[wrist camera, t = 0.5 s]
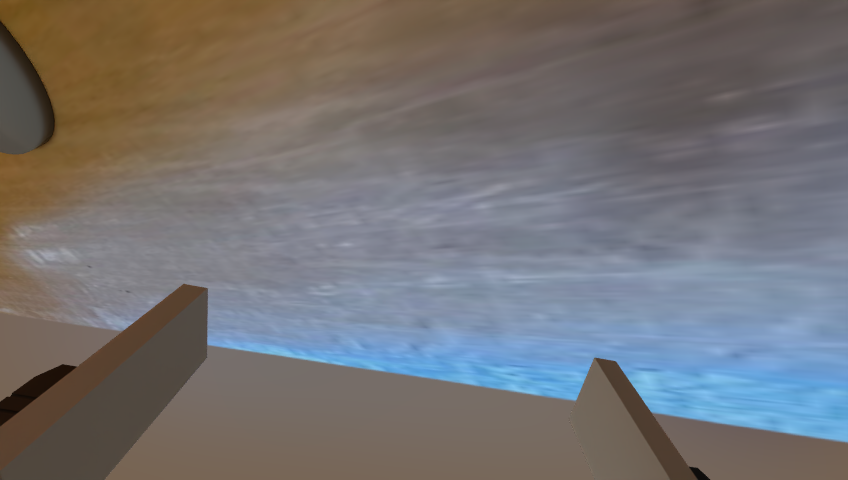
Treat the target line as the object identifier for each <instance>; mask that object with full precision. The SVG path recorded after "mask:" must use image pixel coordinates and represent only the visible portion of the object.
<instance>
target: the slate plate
mask: <svg viewBox="0 0 848 480" xmlns="http://www.w3.org/2000/svg"><path fill="white" fill-rule="evenodd" d="M53 130H54V117H53V111H52V107H51V104H50V100H49V98H48V95H47V93H46V90H45V88H44V86H43V84H42V82H41V80H40V78H39V76H38V74H37V73H36V71H35V69H34V68H33V66H32V64H31V63H30V61H29V59H28V58H27V56H26V55H25V53H24V52H23V51H22V49H21V48H20V46H19V45H18V43H17V42H16V41H15V39H14V38H13V37H12V36H11V34H10V33H9V32H8V30H7V29H6V28H5V27H4V25H3V24H2V23H1V22H0V152H3V153H7V154H23V153H26V152H29V151H31V150H33V149H35V148H37V147H39V146H41V145H43V144H45V143H46V142H48V141H49V139H50V138H51V136H52V134H53Z"/></svg>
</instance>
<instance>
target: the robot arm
mask: <svg viewBox="0 0 848 480" xmlns="http://www.w3.org/2000/svg"><path fill="white" fill-rule="evenodd" d="M207 314H208V288H204V287H198V286H192V285H187V284H183V285H182V286H181V287H179V288H178V289H177V290H175V291H174V292H173V293H172V294H170V295H169V296H168V297H166V298H165V299H164V300H163V301H161V302H160V303H159V304H157V305H156V306H155V307H154V308H152V309H151V310H150V311H148V312H147V313H146V314H145V315H143V316H142V317H141V318H139V319H138V320H137V321H136V322H134V323H133V324H132V325H130V326H129V327H128V328H127V329H125V330H124V331H123V332H121V333H120V334H119V335H118V336H116V337H115V338H114V339H112V340H111V341H110V342H109V343H107V344H106V345H105V346H103V347H102V348H101V349H100V350H98V351H97V352H96V353H94V354H93V355H92V356H91V357H89V358H88V359H87V360H85V361H84V362H83V363H82V364H80V365H79V366H78V367H76V366H70V365H64V364H62V365H60V366H58V367H56V368H54V369H51V370H49V371H47V372H45V373H42V374H40V375H38V376H36V377H34V378H33V379H31V380H30V381H28V382H27V383H26V384H24V385H23V386H21V387H20V388H19V389H17V390H16V391H14V392H13V393H12V395H11V396H10V397H6V398H5V399H3V400H2V401H1V402H0V480H105V478H106V477H107V476H108V475H109V474H110V472H111V471H112V470H113V469H114V468H115V467H116V465H117V464H118V463H119V462H120V461H121V459H122V458H123V457H124V456H125V454H126V453H127V452H128V451H129V450H130V449H131V448H132V446H133V445H134V444H135V443H136V442H137V440H138V439H139V438H140V437H141V436H142V434H143V433H144V432H145V431H146V430H147V428H148V427H149V426H150V425H151V424H152V423H153V421H154V420H155V419H156V418H157V417H158V415H159V414H160V413H161V412H162V411H163V409H164V408H165V407H166V406H167V405H168V403H169V402H170V401H171V400H172V399H173V398H174V396H175V395H176V394H177V393H178V392H179V390H180V389H181V388H182V387H183V386H184V384H185V383H186V382H187V381H188V379H189V378H190V377H191V376H192V375H193V374H194V373H195V371H196V370H197V369H198V368H199V367H200V365H201V364H202V363H203V362H204V361H205V359H206V358H207ZM569 421H570V423H571V425H572V428H573V430H574V433H575V435H576V437H577V440H578V442H579V444H580V447H581V449H582V451H583V454H584V456H585V458H586V460H587V463H588V465H589V468H590V470H591V472H592V474H593V477H594V479H595V480H710V479H709V478H708V477H707V476H706V475H705V474H704V473H703V472H701V471H700V470H699V469H698V468H694V467H689V466H688V465H687V464H686V462H685V461H684V459H683V458H682V456H681V455H680V453H679V452H678V451H677V449H676V448H675V446H674V445H673V443H672V442H671V440H670V439H669V438H668V436H667V435H666V433H665V432H664V430H663V429H662V427H661V426H660V425H659V423H658V422H657V421H656V419H655V417H654V416H653V414H652V413H651V412H650V410H649V409H648V407H647V406H646V404H645V403H644V401H643V400H642V399H641V397H640V396H639V394H638V393H637V391H636V390H635V388H634V387H633V386H632V384H631V383H630V381H629V380H628V378H627V377H626V375H625V374H624V373H623V371H622V370H621V368H620V367H619V365H618V364H617V362H616V361H611V360H605V359H600V358H594V360H593V362H592V365H591V367H590V369H589V372H588V374H587V377H586V379H585V381H584V384H583V386H582V388H581V391H580V393H579V396H578V398H577V400H576V403H575V405H574V408H573V410H572V412H571V415H570V417H569Z"/></svg>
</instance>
